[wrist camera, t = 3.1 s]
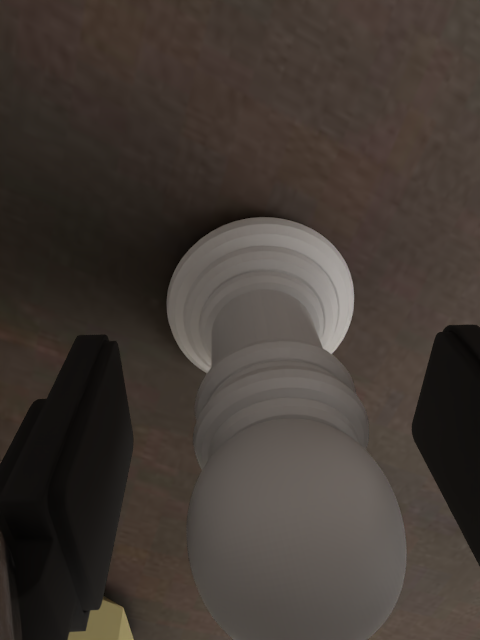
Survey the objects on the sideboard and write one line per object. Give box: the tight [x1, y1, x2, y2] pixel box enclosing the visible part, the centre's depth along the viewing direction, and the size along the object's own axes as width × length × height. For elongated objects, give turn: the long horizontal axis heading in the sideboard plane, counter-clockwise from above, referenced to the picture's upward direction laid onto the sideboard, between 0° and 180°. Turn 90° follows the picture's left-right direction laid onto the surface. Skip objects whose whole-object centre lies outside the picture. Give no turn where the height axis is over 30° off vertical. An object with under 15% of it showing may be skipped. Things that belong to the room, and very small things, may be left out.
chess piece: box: [166, 217, 407, 640], centre depth 9 cm, size 5×5×9 cm
